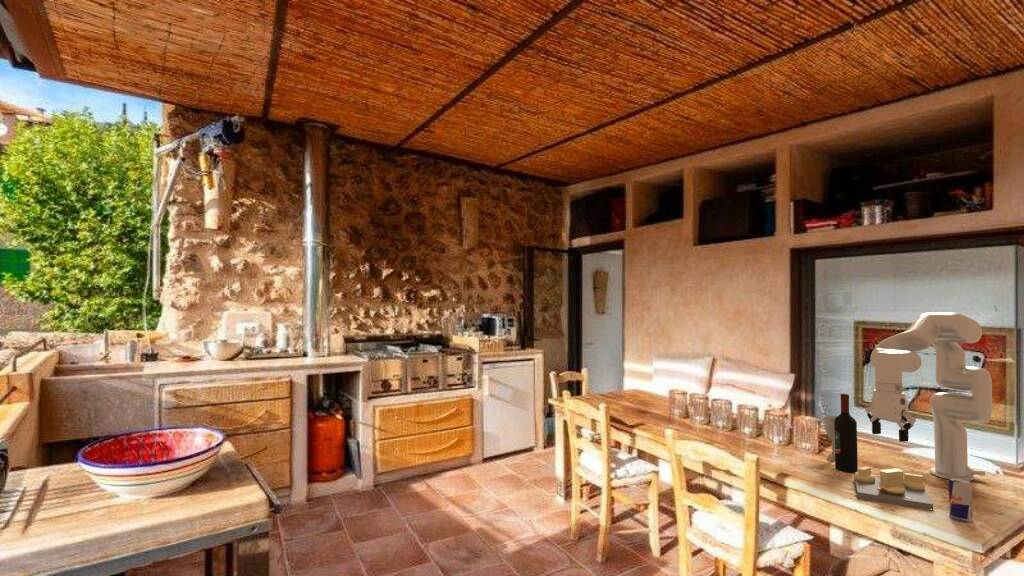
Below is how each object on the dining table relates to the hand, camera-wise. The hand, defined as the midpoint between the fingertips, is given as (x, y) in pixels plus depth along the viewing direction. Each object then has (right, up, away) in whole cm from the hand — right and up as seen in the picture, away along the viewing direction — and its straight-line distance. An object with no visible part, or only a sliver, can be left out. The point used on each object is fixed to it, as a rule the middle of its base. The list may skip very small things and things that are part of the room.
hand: (889, 437), depth 172 cm
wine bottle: (+4, -21, +28) cm, 35 cm away
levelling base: (+2, -21, +3) cm, 21 cm away
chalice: (+6, -22, +40) cm, 46 cm away
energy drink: (+9, -20, -18) cm, 28 cm away
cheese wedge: (-1, -18, -1) cm, 18 cm away
